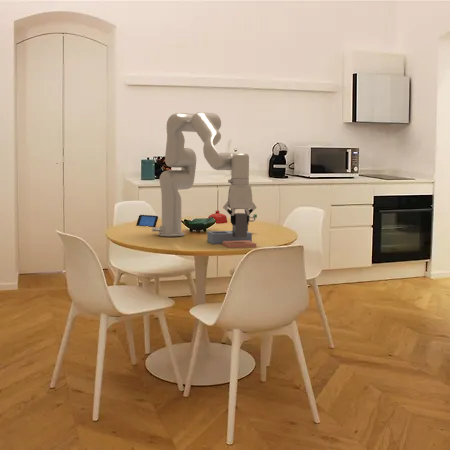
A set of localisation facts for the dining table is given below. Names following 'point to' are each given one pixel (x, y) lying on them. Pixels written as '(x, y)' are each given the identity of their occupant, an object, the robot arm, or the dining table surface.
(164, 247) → the dining table surface
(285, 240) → the dining table surface
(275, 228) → the dining table surface
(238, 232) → the block
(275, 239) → the dining table surface
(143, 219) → the tablet display
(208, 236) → the blue-grey tray
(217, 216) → the butter dish
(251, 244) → the terracotta mat
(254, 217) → the mechanical component
